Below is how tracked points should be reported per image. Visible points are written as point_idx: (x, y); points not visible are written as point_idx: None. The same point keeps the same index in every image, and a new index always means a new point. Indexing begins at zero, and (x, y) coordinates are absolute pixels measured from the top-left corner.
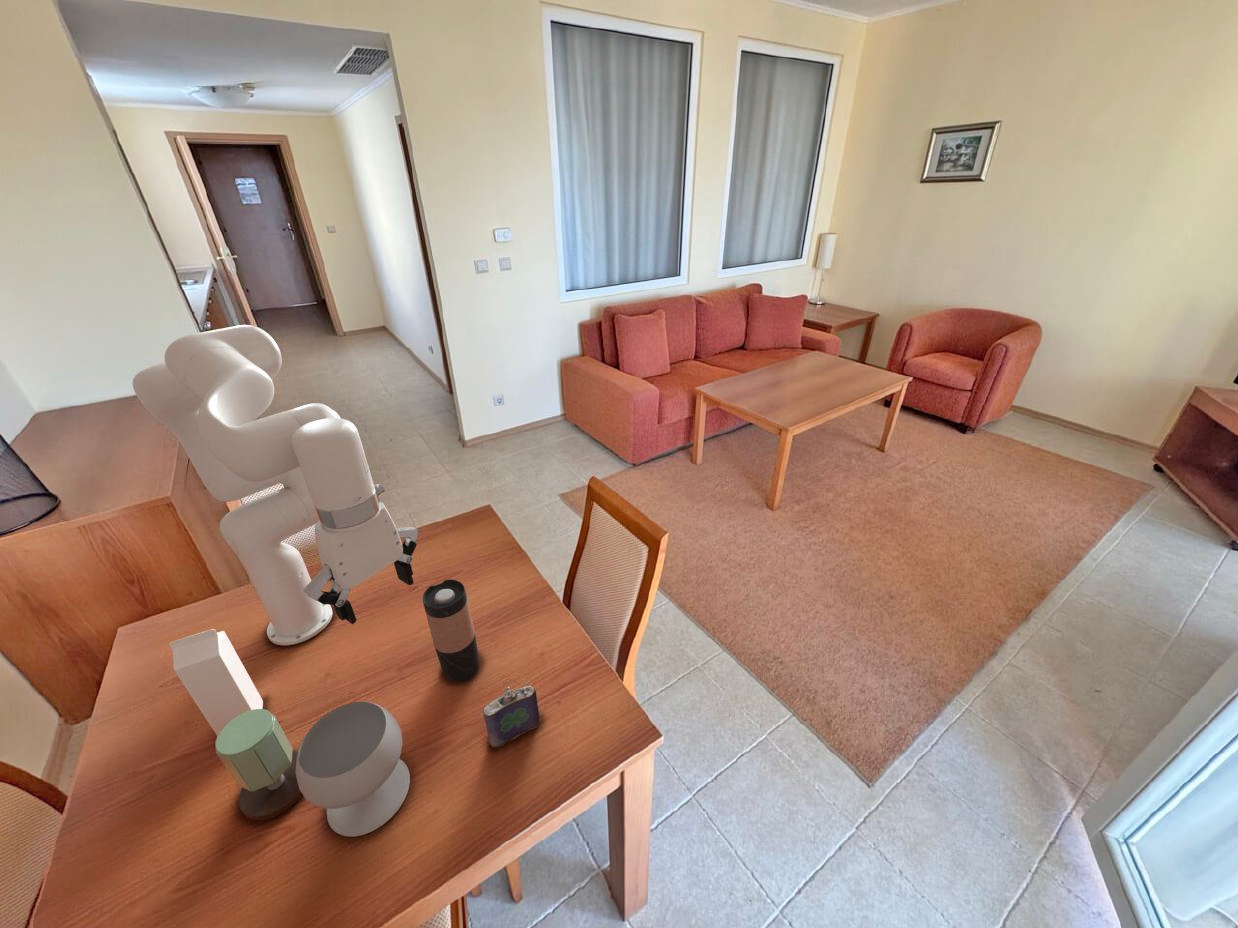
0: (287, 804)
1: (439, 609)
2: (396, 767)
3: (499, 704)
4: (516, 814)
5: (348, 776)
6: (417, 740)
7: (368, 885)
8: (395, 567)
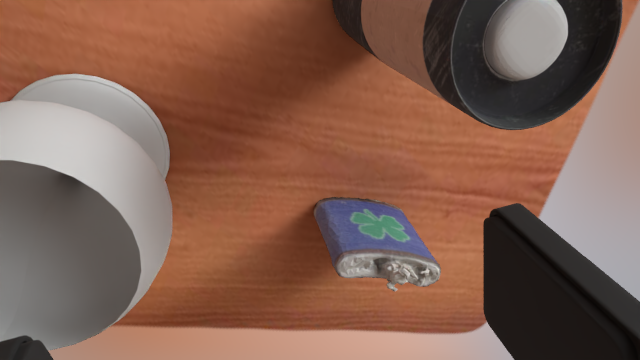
0: None
1: (465, 111)
2: (149, 146)
3: (370, 263)
4: (281, 315)
5: None
6: (208, 106)
7: None
8: (560, 291)
